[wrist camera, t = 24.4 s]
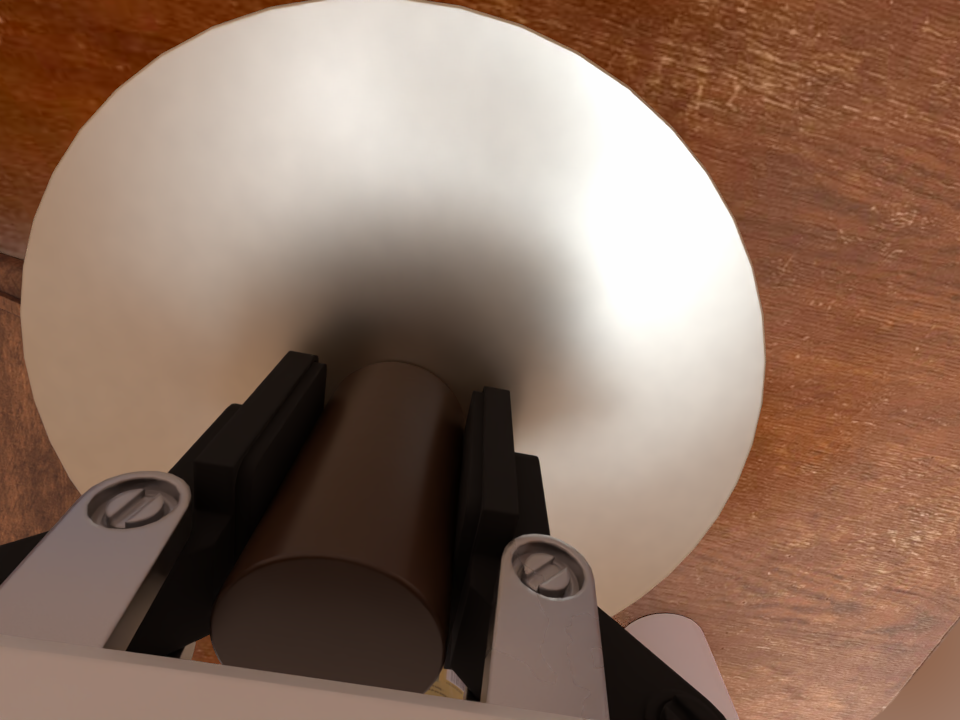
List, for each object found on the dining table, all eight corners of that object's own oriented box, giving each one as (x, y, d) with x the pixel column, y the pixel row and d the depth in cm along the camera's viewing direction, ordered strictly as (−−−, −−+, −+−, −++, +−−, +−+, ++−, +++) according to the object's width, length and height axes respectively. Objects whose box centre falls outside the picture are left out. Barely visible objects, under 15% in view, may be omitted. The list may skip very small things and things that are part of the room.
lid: (10, -85, 9) (-934, -493, 3) (870, 110, 10) (1439, 94, 4) (95, 586, 16) (-160, 889, 9) (623, 665, 17) (703, 983, 10)
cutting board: (269, 319, 33) (253, 334, 30) (231, 666, 45) (217, 696, 43) (-312, 176, 30) (-380, 180, 27) (-179, 590, 42) (-218, 617, 40)
